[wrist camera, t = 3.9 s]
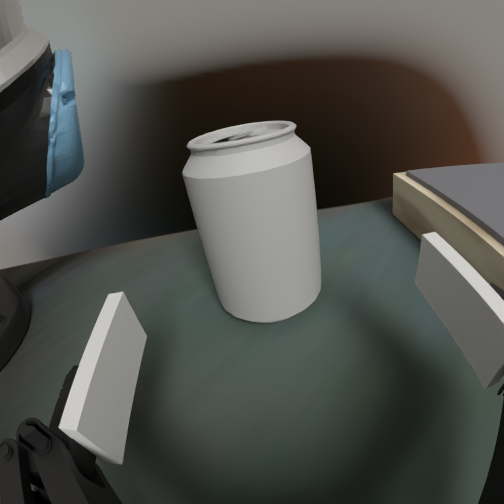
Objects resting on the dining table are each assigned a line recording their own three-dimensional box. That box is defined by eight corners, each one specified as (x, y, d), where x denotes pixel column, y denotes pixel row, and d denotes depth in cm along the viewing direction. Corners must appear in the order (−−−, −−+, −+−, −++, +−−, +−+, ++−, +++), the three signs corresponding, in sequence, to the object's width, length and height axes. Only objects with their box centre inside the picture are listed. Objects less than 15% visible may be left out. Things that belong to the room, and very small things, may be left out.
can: (262, 257, 27) (235, 119, 20) (339, 279, 22) (329, 114, 16) (201, 308, 22) (150, 149, 16) (284, 347, 18) (248, 143, 11)
